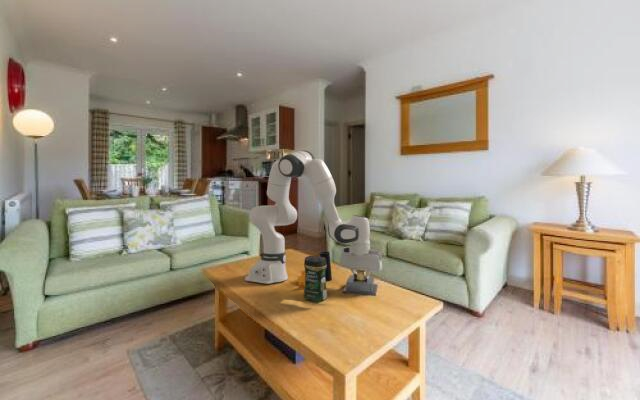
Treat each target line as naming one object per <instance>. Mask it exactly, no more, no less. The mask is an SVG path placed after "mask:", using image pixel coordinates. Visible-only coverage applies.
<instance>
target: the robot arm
mask: <svg viewBox="0 0 640 400" xmlns="http://www.w3.org/2000/svg"><path fill="white" fill-rule="evenodd" d="M302 176H303V177H305V178H306V179H307V181H308V183H309V186H310V188H311V190H312V193H313V195H314V197H315V198H316V199H317V202H318V203H319V204H320V206H321V209H322V211H323V214H324V216H325V219H326V221H327V234H328V236H329V238H330V239H332V240H333V241H335V242H338V243H340V244H349V243H351V244H350V245H347V246H344V247H342V248H341V252H342V253H341V255H340V260H339V261H340V266H341V268H349V269H350V271H351V273H352V275H353V277H355V278H356V275H357V272H356V270H357V269H359V270H366V275H365V279H369V276H370V274H371V272H380V271H381V270H382V269H383V262H382V259H383V255H382V252H380V250H373V249H372V250H371V241H370V235H371V230H370V228H371V226H370V220H369V218H368V217H366V216H362V215H357V214H356V215H354V214H353V215H352V216H351V217H350V218H348V219H346V220H345V221H343V220H341V218H340V216H339V214H338V210H337V208H336V205H335V196H336V194H337V188H336V187H337V186H336V183H335V180H334V178H333V176H332V174H331V171H330V169H329V167H328V166H327V164H326V163H325V161H324V160H323V159H321V158H316V157H315V156H314V154H313V153H312V152H310V151H308V150H299V151H294V152H291V153H287V154H285V155H283V156H281V158H280V159H279V160H278V159H277V160H275V161H274V162H273V163H272V165H271V169H270V172H269V176H268V181H267V188H266V189H267V190H266V196H267V197H268V199H270V200H271V201H272V202H274V203H275V204H271V205H270V204H269V205H259V206H254V207H252V208H251V210H250V212H249V216H248V217H249V220H250V223H251V224H252V225H253V227H255V228H256V229H258V231H259V232H260V234H261V236H262V243H263V251H262V252H261V253H259V257H260V259H259V260H258V261H257V262H255V263H254V264H253V265H252V266H251V267H250V270H249V274H248V275H246V276H245V277H244V280H245V281H247V282H255V283H261V284H266V285H267V284H273V283H280V282H284V281H286V280H288V279H289V276H288V272H287V267H286V260H287V256H286V254H287V253H286V251H285V249H286V248H285V247H286V245H285V244H286V241H285V237H284V235H283V234H281V233H280V232H277V231H276V229H275V227H280V226H281V227H282V226H283V227H284V226H289V225H292V224H295V223H296V221H297V219H298V211H297V209H296V208H295V207H294V206H293V205H292V204H291V202H290V198H289V195H290V187H291V182H292V178H300V177H302Z"/></svg>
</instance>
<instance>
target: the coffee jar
mask: <svg viewBox="0 0 640 400" xmlns="http://www.w3.org/2000/svg"><path fill="white" fill-rule="evenodd" d="M303 267H304V270H305V287H304V293H303V298H304V299H305V300H307V301H310V302H315V303H316V302H317V303H319V302H323V301H325V300H326V299H327V297H328V292H327V281H326V277H325V272H326V267H327V263H326V258H325V257H320V256H318V255H317V256H316V255H309V256H305V258H304V262H303Z"/></svg>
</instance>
